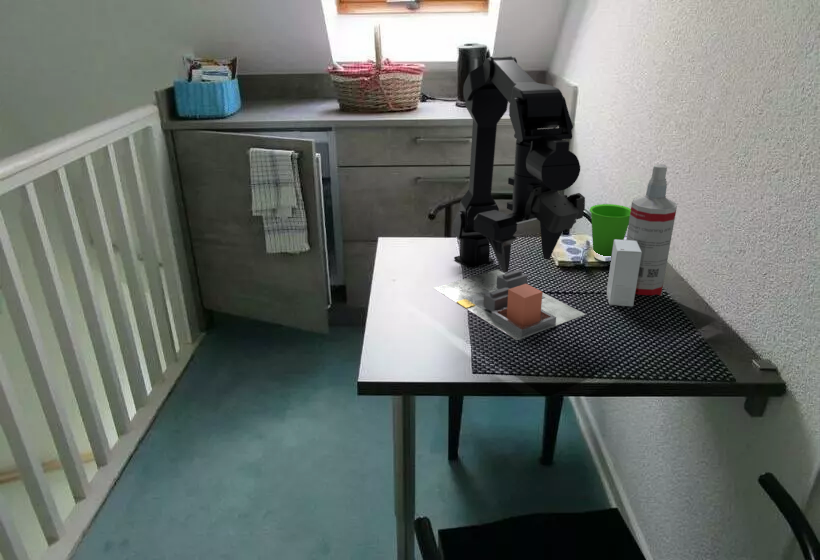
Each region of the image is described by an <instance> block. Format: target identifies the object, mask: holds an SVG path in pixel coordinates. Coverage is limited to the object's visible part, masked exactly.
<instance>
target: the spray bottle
mask: <svg viewBox="0 0 820 560" xmlns="http://www.w3.org/2000/svg"><path fill="white" fill-rule="evenodd" d="M667 172H668V166H667V165H666V164H661V163H660V164H656V165H653V167H652V174H651V177H650V179H649V181H648V183H647V188H646V193H645V195H643V196H640V197H635V198H633V199H632V201H631V205H630V209H631V212H630V219H629V225H628V228H627V232H626V239H625V240H632V241H637V243H638V245H639V247H640V249H641V252H642V254H641V260H640V266H639V273H638V279H637V285H636V291H635V295H638V296H639V295H640V296H655V295H658V296H660V297H662V293H663V287H664V282H665V276H666V270H667V264H668V258H669V254H670V253H669V252H670V248H671V243H672V236H673V230H674V226H675V220H676V214H677V208H678V203H677V202H676V201H673V200H671V199H669V198H667V195H666V194H667V186H668V183H667V182H668V181H667V178H666V177H667Z"/></svg>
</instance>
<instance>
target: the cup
mask: <svg viewBox="0 0 820 560" xmlns="http://www.w3.org/2000/svg"><path fill="white" fill-rule="evenodd" d="M589 212H590V214H591V215H590V216H591V217H590V218H591V238H592V251H593V250H594V251H595V252H596V253H598V254H600V255H603V256H612V250H613V243H614V240H615V239H617V240H625V237H626V235H627V232H628V226H629V219H630V212H631V207H630V208H629V207H628V206H624V205H620V204H613V203H603V204H601V203H600V204H595V205H593V206H591V207H590V208H589Z"/></svg>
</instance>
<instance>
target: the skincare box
mask: <svg viewBox="0 0 820 560" xmlns="http://www.w3.org/2000/svg"><path fill="white" fill-rule="evenodd" d="M641 254H642V252H641V249H640V247H639V245H638V243H637V241H632V240H626V239H624V240H617V239H615V240H614V243H613V250H612V256H611V262H610V264H609V265H610V266H609V273H608V279H607V287H606V297H607V301H608V304H609V305H610V306H622V307H625V306H626V307H634V303H635V296H636V294H635V291H636V285H637V279H638V273H639V266H640V260H641Z"/></svg>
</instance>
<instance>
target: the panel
mask: <svg viewBox="0 0 820 560" xmlns="http://www.w3.org/2000/svg"><path fill="white" fill-rule="evenodd" d="M502 274H506V272H504V271H502V270H500V269H494V270H490V271H487V272H484V273H479V274H476V275H474V276H470V277H467V278H462V279H461V280H456V281H453V282H450V283H446V284H444V285H440V286H436V287H433V290H436V291H437V292H439V293H440V294H441V295H443V296H445V297H447V298H448V299H449V300H452V301H454V302H455V304H457V305H459V306H461V307H462V308H464V309H466V310H467V311H469V312H470V313H472V314H474V315H476V316H477V317H478V318H480V319H481V320H484V321H485V322H486V323H488V324H490V325H492V326H493V328H496V329H498V330H500V331H501V332H502V333H504V334H506V335H507V336H508V337H510V338H513V339H514V340H515V341H519V340H522V339H524V338H528V337H529V336H532V335H535V334H537V333H541V332H543V331H545V330H548V329H551V328H553V327H556V326H559V325H561V324H565V323H567V322H570V321H573V320H575V319H577V318H581V317H583V316H586V313H584V312H582V311H580V310H578V309H576V308H574V307H572V306H570V305H568V304H566V303H565V302H562V301H561V300H558V299H556V298H555V297H553V296H551V295H548V294H547V293H544V292H543V293H542V305H541V317H540V321H538V322H536V323H533V324H530V325H527V326H524V327H521V326H519V325H518V324H516V323H514V322H513V321H511V320H509V319H507V307H504V308H501V309H498V310H495V311H492V312H491V311H490V310H488V309H486V308H485V307H483V306H484V294H487V293H490V292H493V291H496V290H499V289H497V288H496V287H497V276H499V275H502Z"/></svg>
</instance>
